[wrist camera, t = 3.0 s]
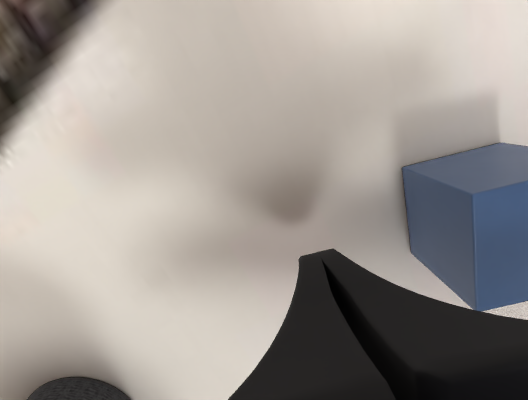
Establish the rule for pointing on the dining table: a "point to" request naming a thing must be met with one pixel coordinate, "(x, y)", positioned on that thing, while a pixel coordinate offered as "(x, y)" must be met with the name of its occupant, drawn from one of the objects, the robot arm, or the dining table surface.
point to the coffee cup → (77, 390)
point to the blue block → (473, 222)
